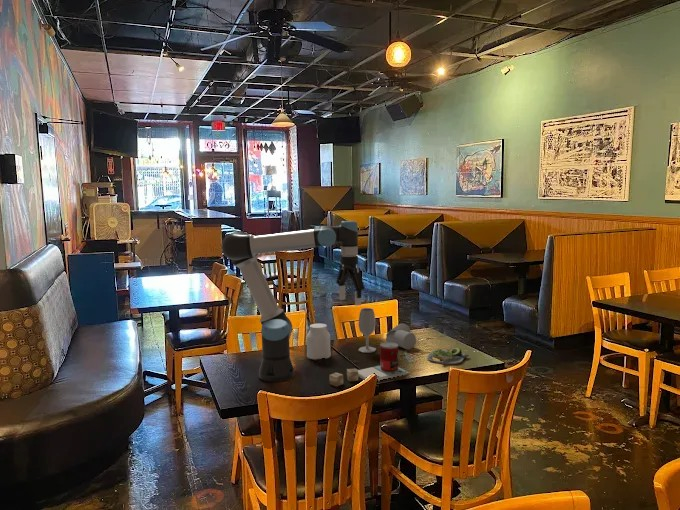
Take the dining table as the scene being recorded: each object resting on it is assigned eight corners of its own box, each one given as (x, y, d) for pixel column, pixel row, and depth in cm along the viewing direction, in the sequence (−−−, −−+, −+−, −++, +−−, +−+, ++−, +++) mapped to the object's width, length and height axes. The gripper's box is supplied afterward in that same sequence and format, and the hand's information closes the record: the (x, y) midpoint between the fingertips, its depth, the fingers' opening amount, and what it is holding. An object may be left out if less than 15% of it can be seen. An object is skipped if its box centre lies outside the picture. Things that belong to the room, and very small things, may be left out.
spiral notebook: (370, 383, 209) (370, 380, 208) (352, 373, 221) (352, 370, 220) (408, 374, 219) (408, 371, 218) (389, 364, 231) (389, 362, 230)
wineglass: (379, 349, 253) (379, 308, 251) (370, 354, 246) (370, 312, 243) (364, 347, 258) (363, 306, 255) (355, 351, 251) (354, 310, 248)
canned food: (393, 373, 216) (393, 348, 215) (377, 370, 221) (376, 345, 219) (401, 368, 223) (401, 343, 222) (385, 364, 227) (385, 341, 226)
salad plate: (460, 369, 224) (460, 359, 224) (421, 364, 233) (421, 354, 232) (470, 357, 241) (470, 347, 241) (434, 352, 250) (434, 342, 249)
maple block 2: (348, 381, 211) (348, 372, 211) (346, 378, 215) (346, 369, 215) (358, 380, 212) (358, 371, 212) (356, 377, 216) (356, 368, 215)
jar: (308, 360, 239) (308, 329, 237) (305, 354, 248) (304, 324, 246) (332, 357, 242) (332, 327, 240) (328, 351, 251) (327, 322, 249)
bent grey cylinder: (374, 340, 266) (400, 349, 250) (377, 320, 266) (403, 328, 250) (399, 341, 276) (425, 350, 260) (402, 322, 276) (428, 330, 260)
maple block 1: (336, 386, 206) (336, 377, 205) (329, 384, 209) (329, 374, 208) (343, 384, 209) (343, 374, 208) (336, 381, 211) (336, 372, 211)
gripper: (372, 257, 218) (372, 306, 221) (342, 252, 240) (343, 296, 242) (357, 259, 214) (357, 308, 217) (328, 253, 236) (329, 298, 238)
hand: (350, 302), depth 230 cm, fingers open, 13 cm apart
